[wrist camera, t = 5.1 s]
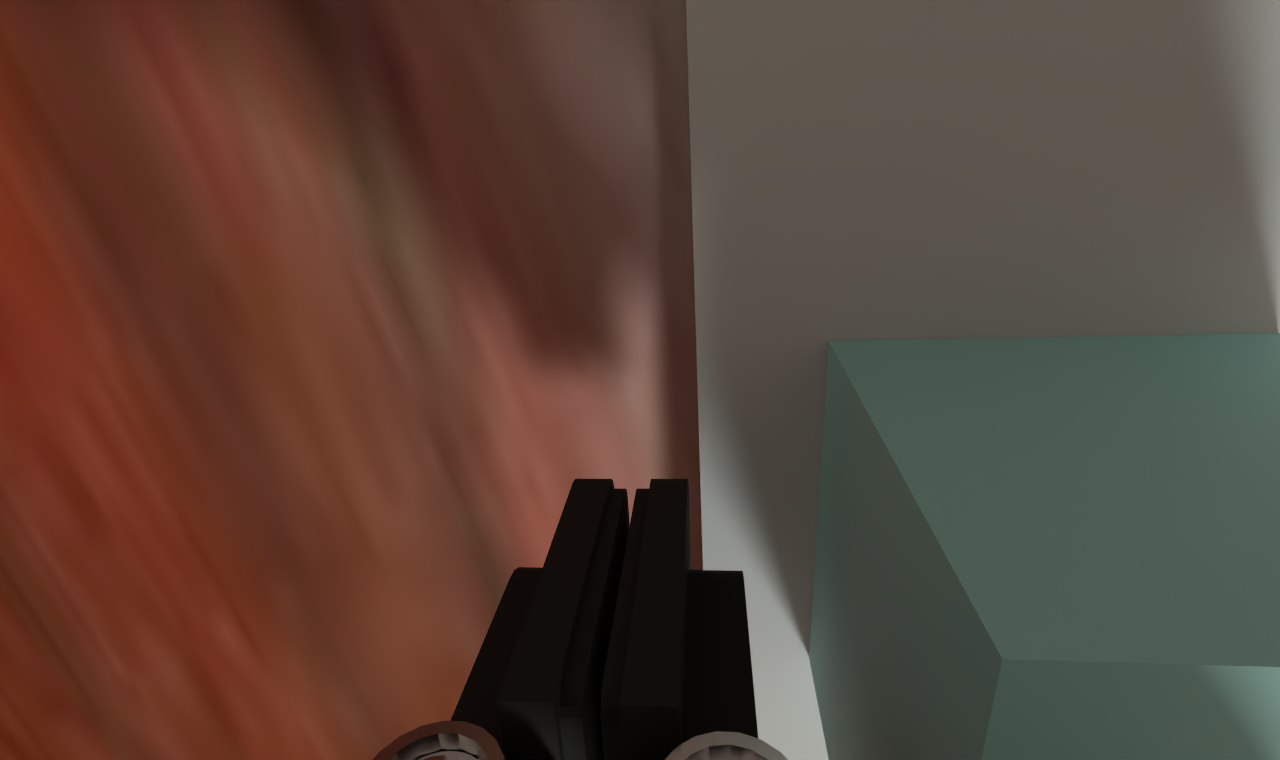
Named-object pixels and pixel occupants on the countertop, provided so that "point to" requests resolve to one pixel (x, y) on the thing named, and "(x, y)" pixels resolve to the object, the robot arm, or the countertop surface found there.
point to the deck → (948, 225)
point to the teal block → (1049, 549)
